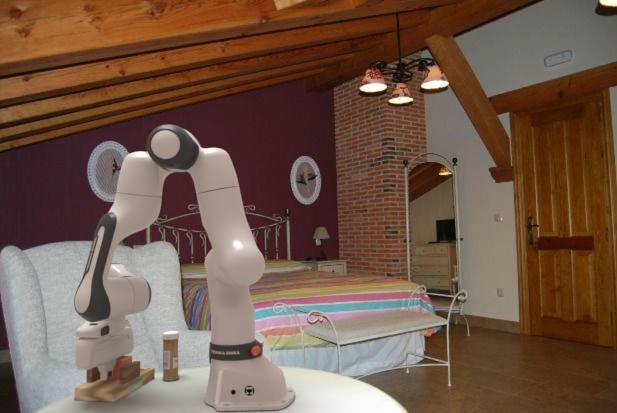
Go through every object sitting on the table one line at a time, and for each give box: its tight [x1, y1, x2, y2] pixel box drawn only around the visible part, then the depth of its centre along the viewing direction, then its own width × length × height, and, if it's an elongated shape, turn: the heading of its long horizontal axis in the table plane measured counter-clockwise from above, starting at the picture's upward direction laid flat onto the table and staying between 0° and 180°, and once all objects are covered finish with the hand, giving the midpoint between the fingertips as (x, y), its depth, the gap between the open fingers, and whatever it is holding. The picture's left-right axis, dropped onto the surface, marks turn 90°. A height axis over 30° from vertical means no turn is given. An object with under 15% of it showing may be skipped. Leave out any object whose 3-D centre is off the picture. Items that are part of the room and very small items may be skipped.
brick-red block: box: [106, 355, 133, 379], centre depth 126 cm, size 5×5×5 cm
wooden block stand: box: [74, 360, 156, 403], centre depth 125 cm, size 11×20×7 cm, turn 170°
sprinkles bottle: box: [162, 330, 180, 382], centre depth 133 cm, size 5×5×13 cm
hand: (106, 378), depth 120 cm, fingers closed
